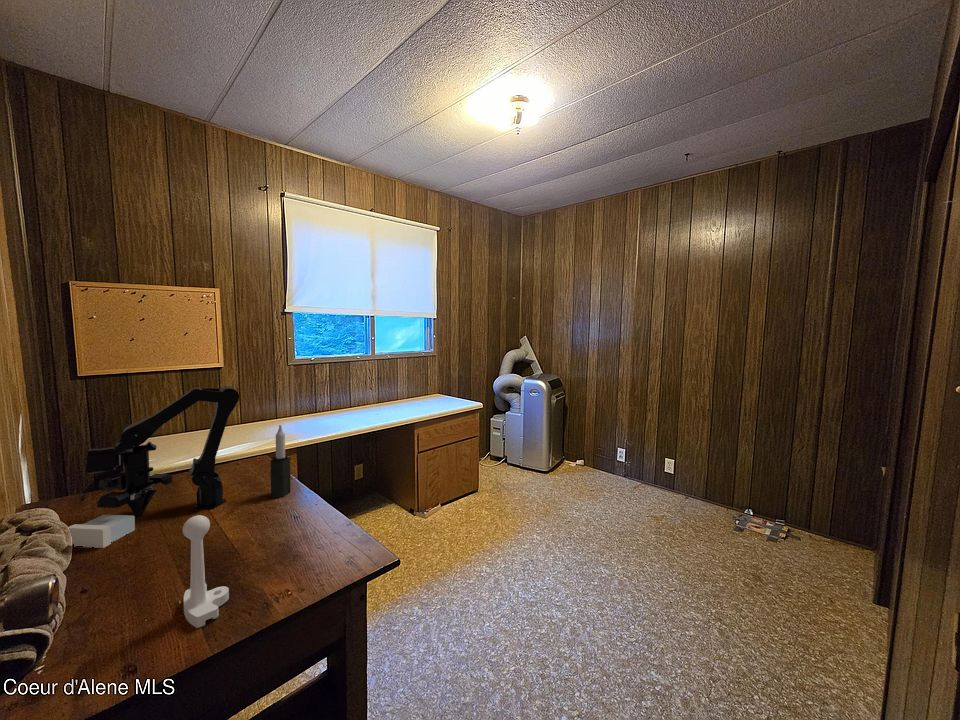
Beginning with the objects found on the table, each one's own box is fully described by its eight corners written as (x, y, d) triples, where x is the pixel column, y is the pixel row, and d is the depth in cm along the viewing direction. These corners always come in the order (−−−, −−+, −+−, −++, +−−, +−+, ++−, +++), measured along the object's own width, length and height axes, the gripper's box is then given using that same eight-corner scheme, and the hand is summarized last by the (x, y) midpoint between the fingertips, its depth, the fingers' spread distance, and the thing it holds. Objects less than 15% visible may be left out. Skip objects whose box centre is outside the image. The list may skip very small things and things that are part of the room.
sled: (134, 529, 108) (134, 515, 108) (110, 543, 101) (109, 528, 101) (104, 528, 109) (104, 514, 108) (78, 541, 102) (77, 526, 101)
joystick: (179, 602, 80) (177, 510, 79) (221, 586, 86) (220, 500, 84) (190, 631, 73) (188, 530, 71) (236, 611, 78) (234, 517, 77)
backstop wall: (111, 543, 101) (110, 525, 101) (103, 548, 99) (102, 529, 99) (75, 542, 102) (74, 524, 101) (66, 546, 100) (66, 527, 99)
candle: (281, 498, 132) (281, 427, 130) (269, 496, 133) (268, 426, 131) (292, 492, 137) (291, 423, 135) (279, 490, 138) (279, 422, 136)
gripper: (139, 455, 123) (141, 502, 124) (76, 477, 104) (79, 532, 105) (172, 456, 122) (174, 503, 123) (115, 478, 104) (118, 533, 105)
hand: (138, 517), depth 114 cm, fingers closed
